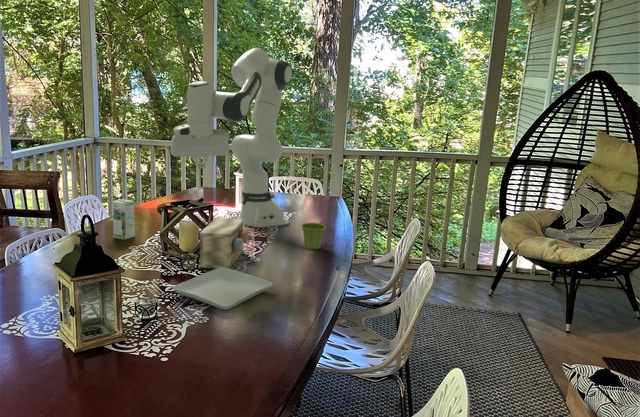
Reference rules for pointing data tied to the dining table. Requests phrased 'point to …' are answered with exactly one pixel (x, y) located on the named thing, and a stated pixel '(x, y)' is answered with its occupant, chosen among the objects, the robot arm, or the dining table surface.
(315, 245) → the plant pot
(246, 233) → the button brick
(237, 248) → the blue grey rounded piece
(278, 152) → the robot arm
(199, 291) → the salad plate
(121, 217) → the syrup box
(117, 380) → the dining table surface
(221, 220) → the cardboard box
